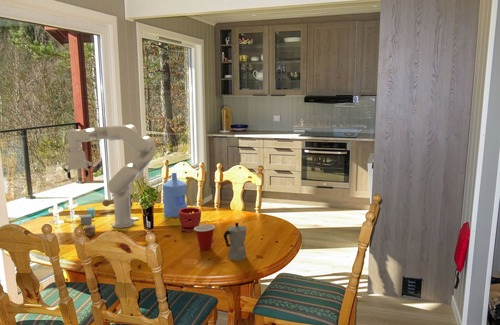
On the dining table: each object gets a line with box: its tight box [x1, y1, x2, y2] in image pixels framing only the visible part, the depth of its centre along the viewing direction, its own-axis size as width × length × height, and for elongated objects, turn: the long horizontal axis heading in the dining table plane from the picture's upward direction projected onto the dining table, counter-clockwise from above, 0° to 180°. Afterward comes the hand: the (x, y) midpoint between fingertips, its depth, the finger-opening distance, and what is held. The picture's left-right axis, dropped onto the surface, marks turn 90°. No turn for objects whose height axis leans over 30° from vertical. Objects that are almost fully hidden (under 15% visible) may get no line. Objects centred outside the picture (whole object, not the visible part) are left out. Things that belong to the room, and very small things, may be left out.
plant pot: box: [178, 207, 202, 233], centre depth 246 cm, size 13×13×12 cm
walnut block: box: [83, 224, 96, 237], centre depth 240 cm, size 6×4×5 cm
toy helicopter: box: [102, 193, 133, 208], centre depth 289 cm, size 8×21×14 cm, turn 134°
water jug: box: [162, 172, 188, 218], centre depth 274 cm, size 16×16×28 cm
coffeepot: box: [223, 222, 247, 262], centre depth 204 cm, size 15×9×18 cm, turn 137°
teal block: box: [86, 207, 96, 218], centre depth 274 cm, size 4×6×5 cm
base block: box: [80, 214, 93, 225], centre depth 259 cm, size 6×4×5 cm
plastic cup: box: [194, 224, 216, 251], centre depth 217 cm, size 11×11×12 cm
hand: (78, 177), depth 251 cm, fingers open, 9 cm apart
